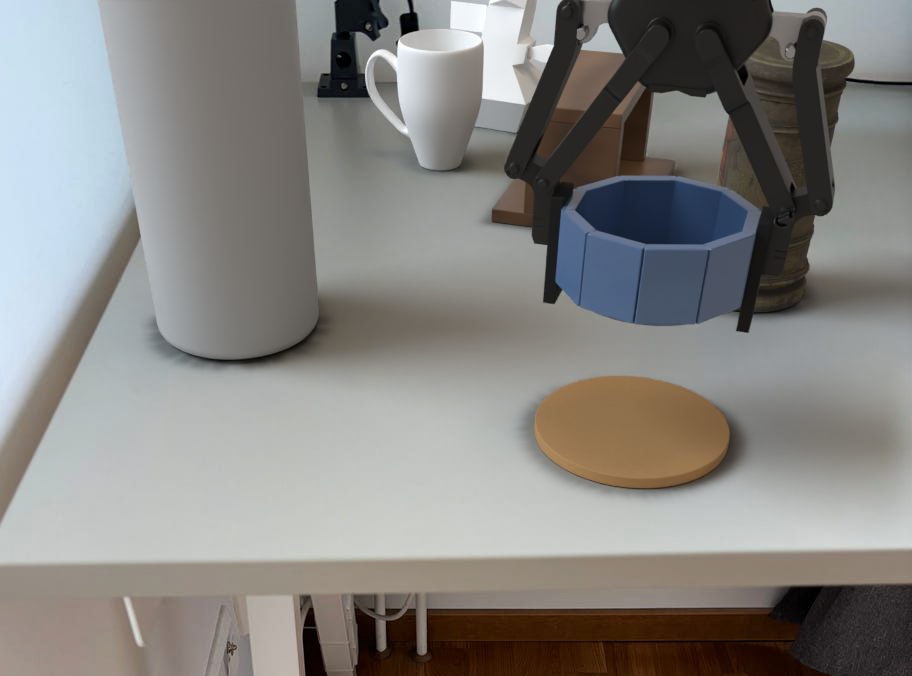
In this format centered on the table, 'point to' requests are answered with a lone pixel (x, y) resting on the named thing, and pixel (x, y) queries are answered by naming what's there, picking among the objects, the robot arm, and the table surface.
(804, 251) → the container
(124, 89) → the cylinder vase
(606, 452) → the coaster
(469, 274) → the table surface
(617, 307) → the bowl
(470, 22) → the white faceted sculpture
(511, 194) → the stand
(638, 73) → the robot arm
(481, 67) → the mug
